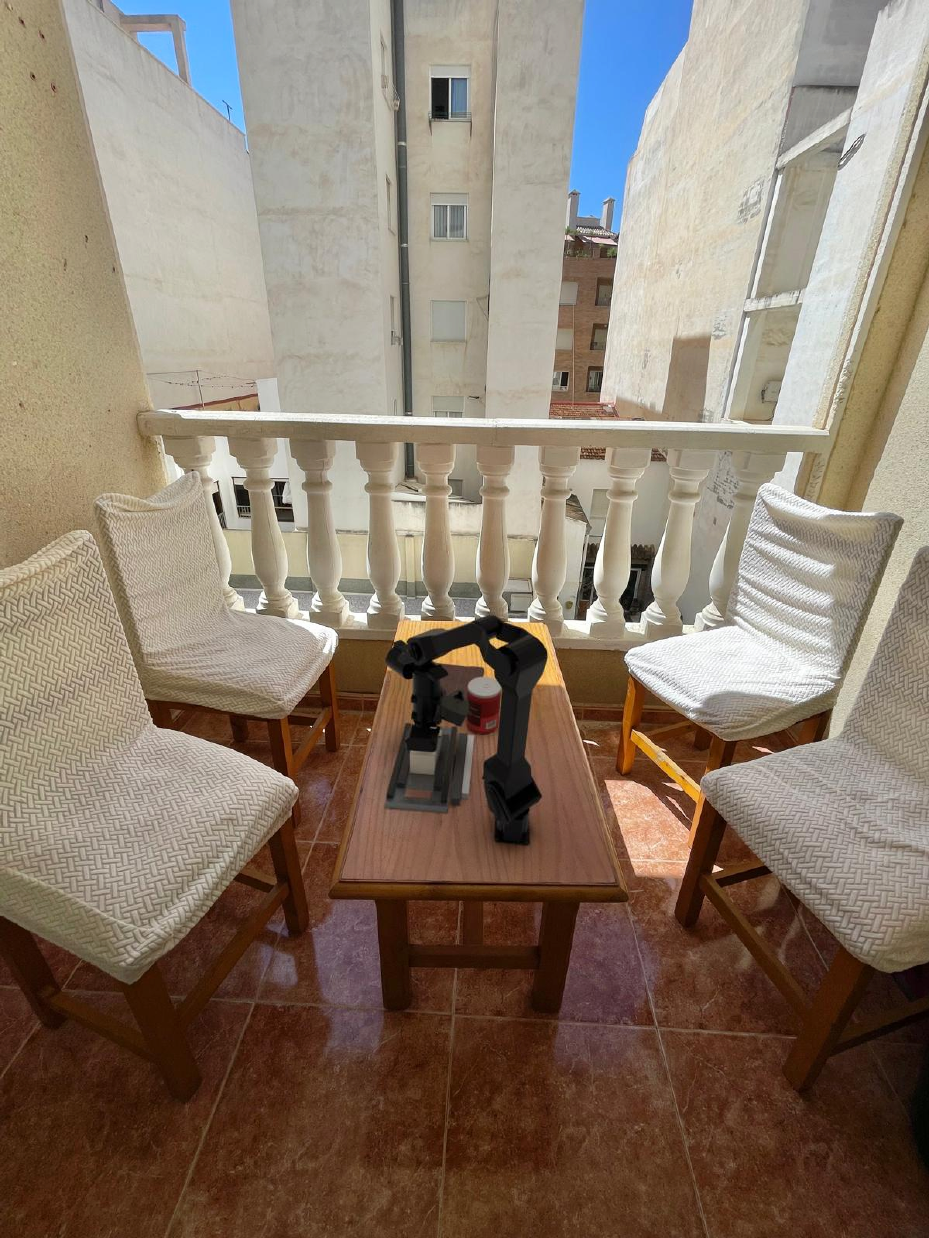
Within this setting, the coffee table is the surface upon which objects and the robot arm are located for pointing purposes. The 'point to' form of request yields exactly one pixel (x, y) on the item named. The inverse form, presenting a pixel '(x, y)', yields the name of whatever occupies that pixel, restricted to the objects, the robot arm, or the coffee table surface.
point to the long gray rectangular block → (462, 769)
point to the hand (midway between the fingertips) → (426, 749)
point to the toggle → (423, 762)
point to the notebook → (459, 677)
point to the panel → (423, 777)
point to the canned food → (483, 705)
